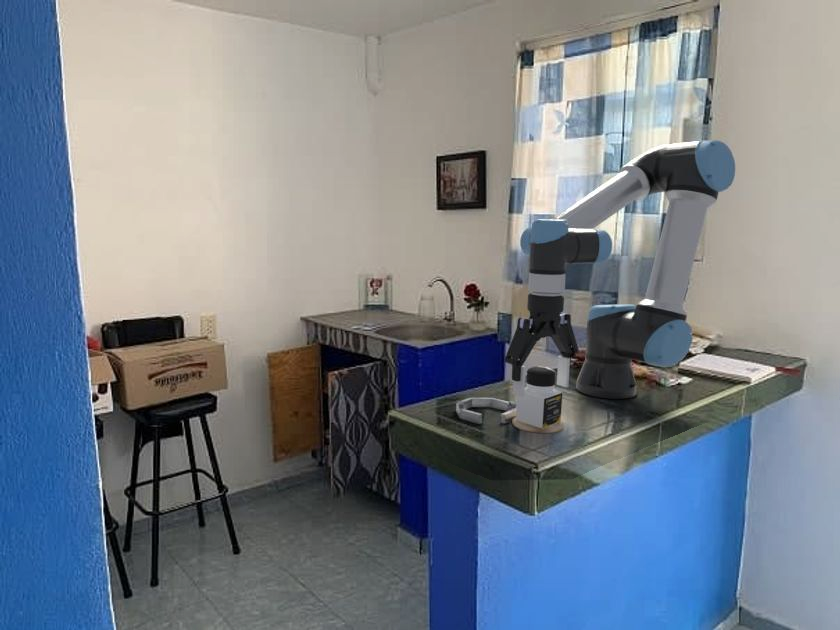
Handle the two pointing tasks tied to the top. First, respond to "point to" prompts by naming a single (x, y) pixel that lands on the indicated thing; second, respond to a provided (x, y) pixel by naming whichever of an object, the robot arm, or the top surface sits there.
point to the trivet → (533, 429)
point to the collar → (485, 402)
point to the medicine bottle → (540, 399)
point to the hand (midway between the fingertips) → (541, 390)
